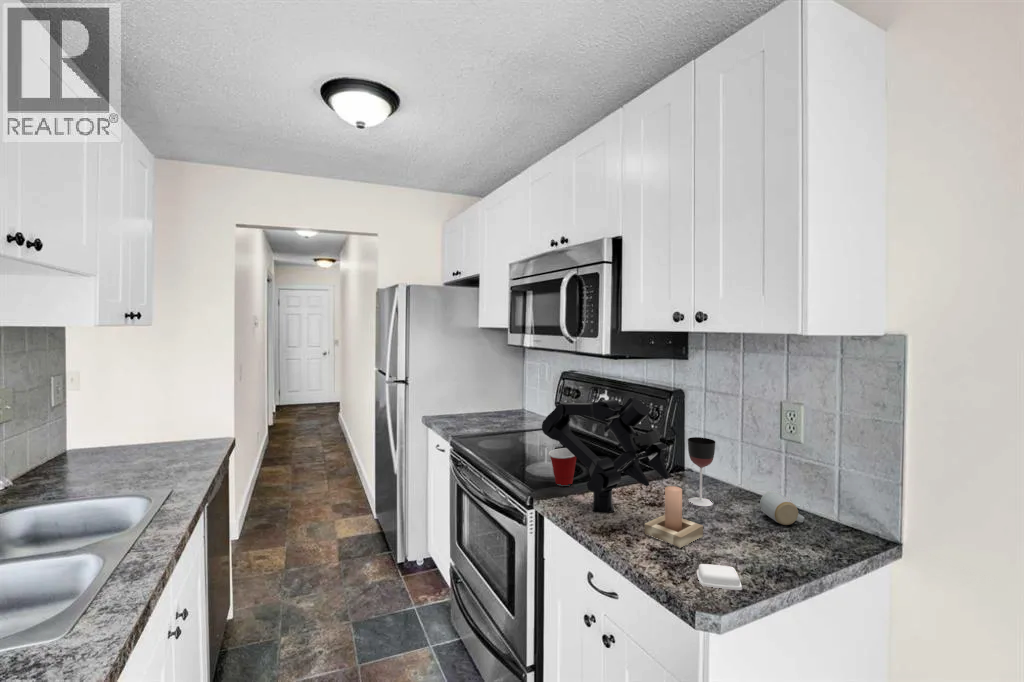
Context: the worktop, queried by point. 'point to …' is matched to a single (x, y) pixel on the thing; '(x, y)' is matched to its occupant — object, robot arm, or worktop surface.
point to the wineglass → (701, 461)
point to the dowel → (673, 508)
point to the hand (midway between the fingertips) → (657, 481)
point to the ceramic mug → (780, 508)
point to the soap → (718, 577)
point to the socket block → (680, 538)
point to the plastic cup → (563, 465)
